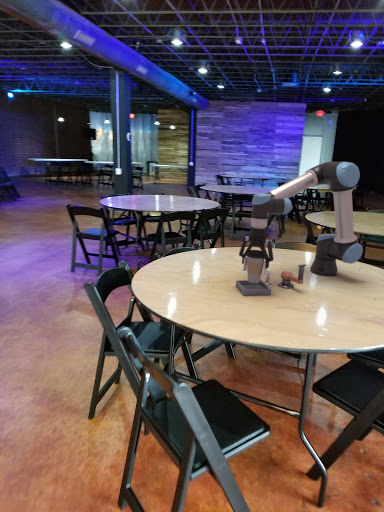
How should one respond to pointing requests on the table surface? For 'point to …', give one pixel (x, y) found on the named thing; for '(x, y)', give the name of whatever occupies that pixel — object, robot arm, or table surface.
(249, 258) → the coffee cup
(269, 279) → the peg
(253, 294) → the tray
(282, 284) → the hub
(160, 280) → the table surface
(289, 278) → the crank
